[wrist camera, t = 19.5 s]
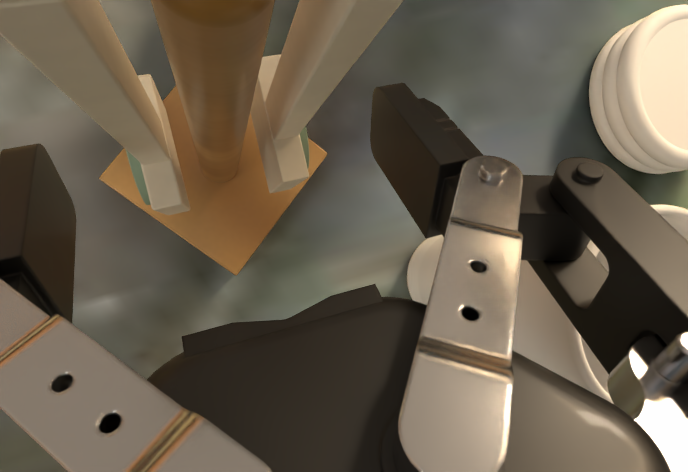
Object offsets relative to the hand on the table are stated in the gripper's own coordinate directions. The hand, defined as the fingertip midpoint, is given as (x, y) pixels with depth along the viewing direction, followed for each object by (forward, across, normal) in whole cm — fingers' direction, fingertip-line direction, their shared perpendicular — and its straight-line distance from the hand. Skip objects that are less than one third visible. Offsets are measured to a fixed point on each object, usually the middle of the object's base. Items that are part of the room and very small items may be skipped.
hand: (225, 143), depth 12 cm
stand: (+11, 0, +9) cm, 14 cm away
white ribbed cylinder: (+10, -28, +10) cm, 32 cm away
